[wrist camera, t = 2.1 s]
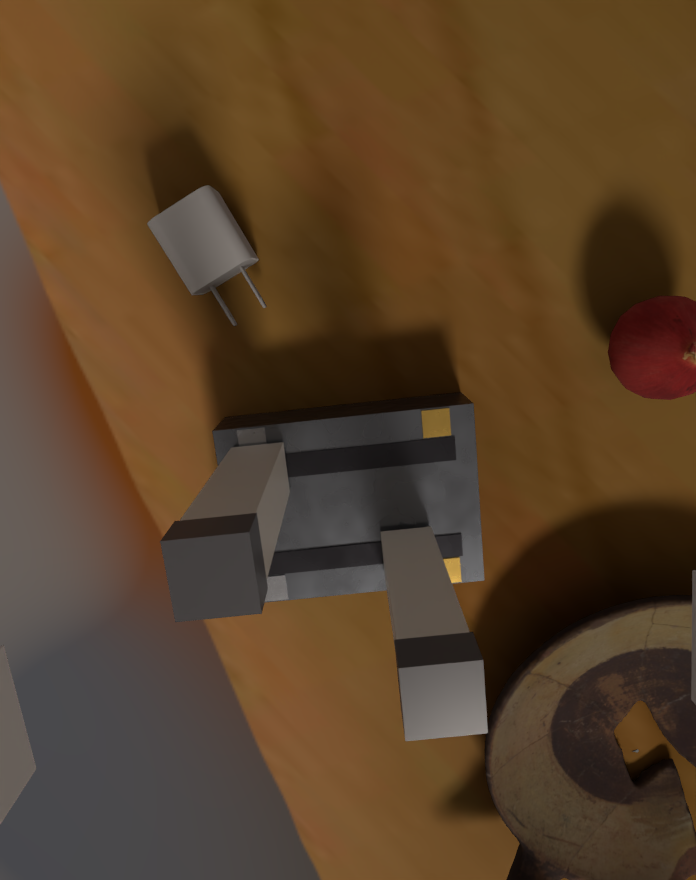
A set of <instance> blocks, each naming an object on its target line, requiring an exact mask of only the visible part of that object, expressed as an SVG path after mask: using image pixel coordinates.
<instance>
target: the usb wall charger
mask: <svg viewBox="0 0 696 880" xmlns="http://www.w3.org/2000/svg"><path fill="white" fill-rule="evenodd" d="M147 225H148V226H149V228H150V229H151V231H152V233H153V234H154V236H155V237H156V239H157V241H158V242H159V244H160V245H161V247H162V248H163V250H164V252H165V253H166V255H167V256H168V258H169V260H170V261H171V263H172V264H173V266H174V268H175V269H176V271H177V272H178V274H179V276H180V277H181V279H182V280H183V282H184V284H185V285H186V287H187V288H188V290H189V292H190V293H191V295H203V294H205V293H207V292H209V291H212V292H213V294H214V296H215V297H216V299H217V300H218V302H219V304H220V305H221V307H222V309H223V310H224V312H225V313H226V315H227V317H228V318H229V320H230V321H231V323H232V324H233V326H236V325H237V323H236V321H235V319H234V318H233V316H232V314H231V313H230V311H229V309H228V308H227V306H226V305H225V303H224V301H223V300H222V298H221V296H220V295H219V293H218V292H217V290H216V287H217V286H219V285H221V284H222V283H224V282H226V281H227V280H229V279H230V278H232V277H234V276H235V275H237V274H238V273H240V272H242V273H243V275H244V277H245V278H246V280H247V282H248V283H249V285H250V287H251V288H252V290H253V292H254V293H255V295H256V297H257V298H258V300H259V301H260V303H261V305H262V306H263V308H266V307H267V306H266V304H265V302H264V301H263V299H262V297H261V296H260V294H259V292H258V291H257V289H256V287H255V286H254V284H253V282H252V281H251V279H250V277H249V276H248V274H247V272H246V271H245V269H247V268H248V267H250V266H251V265H253V264H255V263H256V262H257V261H258V260H259V259H258V257H257V256H256V254H255V252H254V251H253V249H252V247H251V246H250V244H249V242H248V240H247V239H246V237H245V235H244V234H243V232H242V230H241V229H240V227H239V225H238V224H237V222H236V220H235V219H234V217H233V215H232V214H231V212H230V210H229V209H228V207H227V205H226V204H225V202H224V200H223V198H222V197H221V195H220V193H219V192H218V191H216V190H215V189H214V188H212V187H211V186H210V185H206V186H203V187H201V188H199V189H197V190H195V191H194V192H192V193H191V194H189V195H188V196H186V197H185V198H183V199H181V200H180V201H178V202H177V203H175V204H174V205H172V206H171V207H169V208H167V209H166V210H164V211H163V212H161V213H160V214H158V215H157V216H155V217H154V218H152V219H151V220H150V221H149V222H148V224H147Z"/></svg>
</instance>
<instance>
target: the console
mask: <svg viewBox="0 0 696 880" xmlns="http://www.w3.org/2000/svg"><path fill="white" fill-rule="evenodd" d="M213 437H214V444H215V450H216V456H217V462H218V466H219V464H220V463H221V461H222V460H223V458H224V457H225V456H226V454H227V453H228V451H229V450H230V448H232V447H242V446H251V445H261V444H270V443H280V442H283V444H284V451H285V459H286V466H287V474H288V481H289V488H290V494H289V498H288V501H287V505H286V509H285V513H284V517H283V520H282V524H281V528H280V532H279V536H278V539H277V543H276V547H275V551H274V555H273V558H272V562H271V566H270V570H269V574H268V577H267V585H268V590H267V594H266V598H265V602H274V601H284V600H294V599H304V598H314V597H324V596H334V595H344V594H354V593H364V592H374V591H384V590H387V588H386V581H385V572H384V562H383V552H382V542H381V532H382V531H391V530H401V529H411V528H421V527H431V528H432V530H433V533H434V536H435V539H436V541H437V544H438V547H439V550H440V552H441V555H442V558H443V560H444V563H445V566H446V569H447V571H448V574H449V577H450V580H451V582H452V584H453V583H463V582H473V581H483V580H484V568H483V552H482V535H481V519H480V502H479V486H478V470H477V453H476V437H475V420H474V404H473V403H472V402H471V401H470V400H469V399H468V398H467V397H466V396H465V395H463V394H462V393H461V392H458V393H449V394H439V395H430V396H420V397H411V398H402V399H392V400H383V401H373V402H364V403H354V404H345V405H335V406H326V407H317V408H307V409H298V410H288V411H279V412H269V413H260V414H250V415H241V416H232V417H225V418H224V419H223V420H222V421H221V422H220V423H219V424H218V426H217V427H216V428H215V429H214V430H213Z"/></svg>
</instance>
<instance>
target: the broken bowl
mask: <svg viewBox="0 0 696 880" xmlns="http://www.w3.org/2000/svg"><path fill="white" fill-rule="evenodd" d="M691 680H692V595H670V596H659V597H650V598H645V599H639V600H635V601H631V602H627V603H623V604H619V605H616V606H612V607H609V608H606V609H604V610H602V611H599V612H596V613H595V614H592V615H589V616H587V617H585V618H583V619H581V620H579V621H577V622H575V623H573V624H571V625H569V626H568V627H566V628H564V629H563V630H561V631H560V632H559V633H557V634H556V635H554V636H553V637H552V638H550V639H549V640H548V641H546V642H545V643H544V644H543V645H542V646H541V647H539V648H538V649H537V650H536V651H535V652H534V653H532V654H531V656H529V657H528V658H527V659H526V660H525V661H524V662H523V663H522V664H521V665H520V666H519V667H518V668H517V670H516V671H515V672H514V673H513V674H512V675H511V677H510V678H509V679H508V681H507V683H506V684H505V686H504V688H503V689H502V691H501V693H500V695H499V696H498V698H497V700H496V702H495V704H494V707H493V709H492V712H491V715H490V718H489V723H488V733H486V740H485V770H486V778H487V783H488V787H489V791H490V794H491V797H492V800H493V802H494V805H495V807H496V809H497V810H498V813H499V815H500V816H501V818H502V820H503V821H504V823H505V824H506V826H507V827H508V828H509V829H510V831H511V832H512V834H513V835H514V836H515V837H516V838H517V839H518V841H519V843H520V844H519V847H518V850H517V853H516V856H515V859H514V861H513V864H512V866H511V869H510V872H509V875H508V877H507V880H561V879H562V878H567V879H569V880H686V879H687V878H688V877H690V876H691V875H695V874H696V832H695V829H694V826H693V821H692V817H691V814H690V811H689V808H688V806H687V803H686V801H685V797H684V792H683V788H682V785H681V781H680V778H679V775H678V772H677V769H676V767H675V764H674V762H673V759H664V760H662V761H661V762H659V763H657V764H655V765H651V767H650V768H649V769H647V770H645V771H642V772H641V774H640V776H639V778H638V779H637V780H636V781H632V780H631V778H630V776H629V773H628V771H627V768H626V765H625V762H624V759H623V753H622V751H621V750H622V749H621V748H620V747H619V745H618V743H617V741H616V739H615V736H614V729H615V728H616V726H617V725H618V723H619V722H621V721H622V719H623V718H624V717H625V716H626V715H627V713H628V712H629V711H630V709H631V708H632V706H633V705H634V704H635V703H636V702H637V701H639V700H642V701H643V702H645V703H646V704H647V706H648V707H649V709H650V711H651V713H652V716H653V718H654V720H655V721H656V723H657V725H658V726H659V729H660V730H661V731H662V733H663V735H664V736H665V737H666V738H667V740H668V741H669V742H670V743H671V744H672V745H673V747H674V748H675V749H676V750H677V751H678V752H679V754H681V755H682V756H683V757H685V758H686V759H687V760H688V761H689V762H690V763H691V764H693V765H694V766H695V767H696V705H695V703H694V702H693V701H692V700H691ZM638 751H639V750H638V749H637V750H635V751H632V752H638Z"/></svg>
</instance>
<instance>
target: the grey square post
mask: <svg viewBox="0 0 696 880" xmlns="http://www.w3.org/2000/svg"><path fill="white" fill-rule="evenodd" d="M289 494H290V488H289V481H288V474H287V466H286V459H285V451H284V444H283V442H280V443H270V444H261V445H251V446H242V447H232V448H230V450H229V451H228V453H227V454H226V456H225V457H224V458H223V460H222V461H221V463H220V464H219V466H218V467H217V468H216V470H215V471H214V473H213V474H212V475H211V477H210V478H209V480H208V481H207V483H206V484H205V485H204V487H203V488H202V490H201V491H200V493H199V494H198V495H197V497H196V498H195V500H194V501H193V503H192V504H191V505H190V507H189V508H188V510H187V511H186V512H185V514H184V515H183V517H182V518H181V520H180V521H175V522H174V523H173V524H172V526H171V527H170V529H169V530H168V531H167V533H166V534H165V536H164V537H163V538H162V540H161V541H160V542H161V548H162V553H163V558H164V564H165V569H166V574H167V580H168V585H169V590H170V595H171V601H172V606H173V612H174V617H175V622H182V621H191V620H202V619H212V618H222V617H232V616H242V615H252V614H262V610H263V606H264V602H265V598H266V594H267V590H268V585H267V577H268V574H269V570H270V566H271V562H272V558H273V555H274V551H275V547H276V543H277V539H278V536H279V532H280V528H281V524H282V520H283V517H284V513H285V509H286V505H287V501H288V498H289Z"/></svg>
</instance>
